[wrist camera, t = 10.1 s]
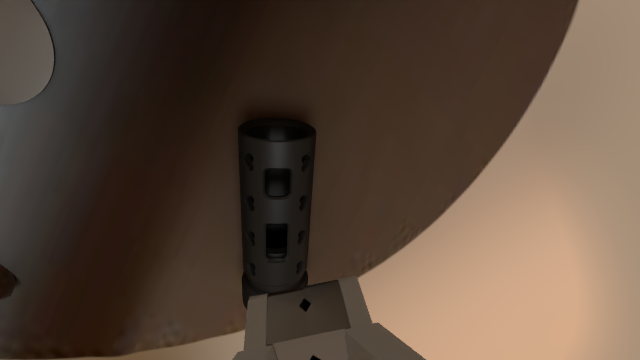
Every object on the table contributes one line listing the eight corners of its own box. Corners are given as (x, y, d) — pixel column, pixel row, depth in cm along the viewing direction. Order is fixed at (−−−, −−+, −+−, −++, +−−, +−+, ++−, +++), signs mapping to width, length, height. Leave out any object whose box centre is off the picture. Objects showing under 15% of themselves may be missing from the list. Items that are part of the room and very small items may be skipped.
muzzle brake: (313, 117, 43) (324, 143, 34) (302, 278, 55) (309, 329, 46) (239, 114, 41) (230, 141, 32) (245, 280, 54) (240, 334, 44)
